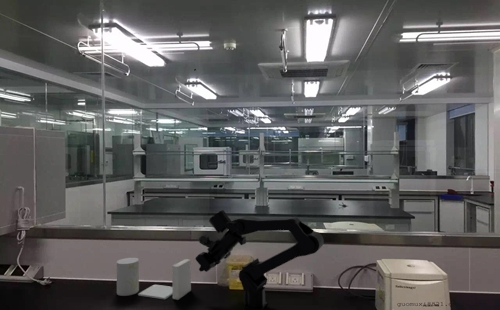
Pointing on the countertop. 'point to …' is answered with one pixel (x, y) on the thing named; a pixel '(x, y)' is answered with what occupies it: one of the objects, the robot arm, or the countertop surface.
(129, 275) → the grey upright cylinder
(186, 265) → the white rectangular block
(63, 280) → the countertop surface
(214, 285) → the countertop surface
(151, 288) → the mat
